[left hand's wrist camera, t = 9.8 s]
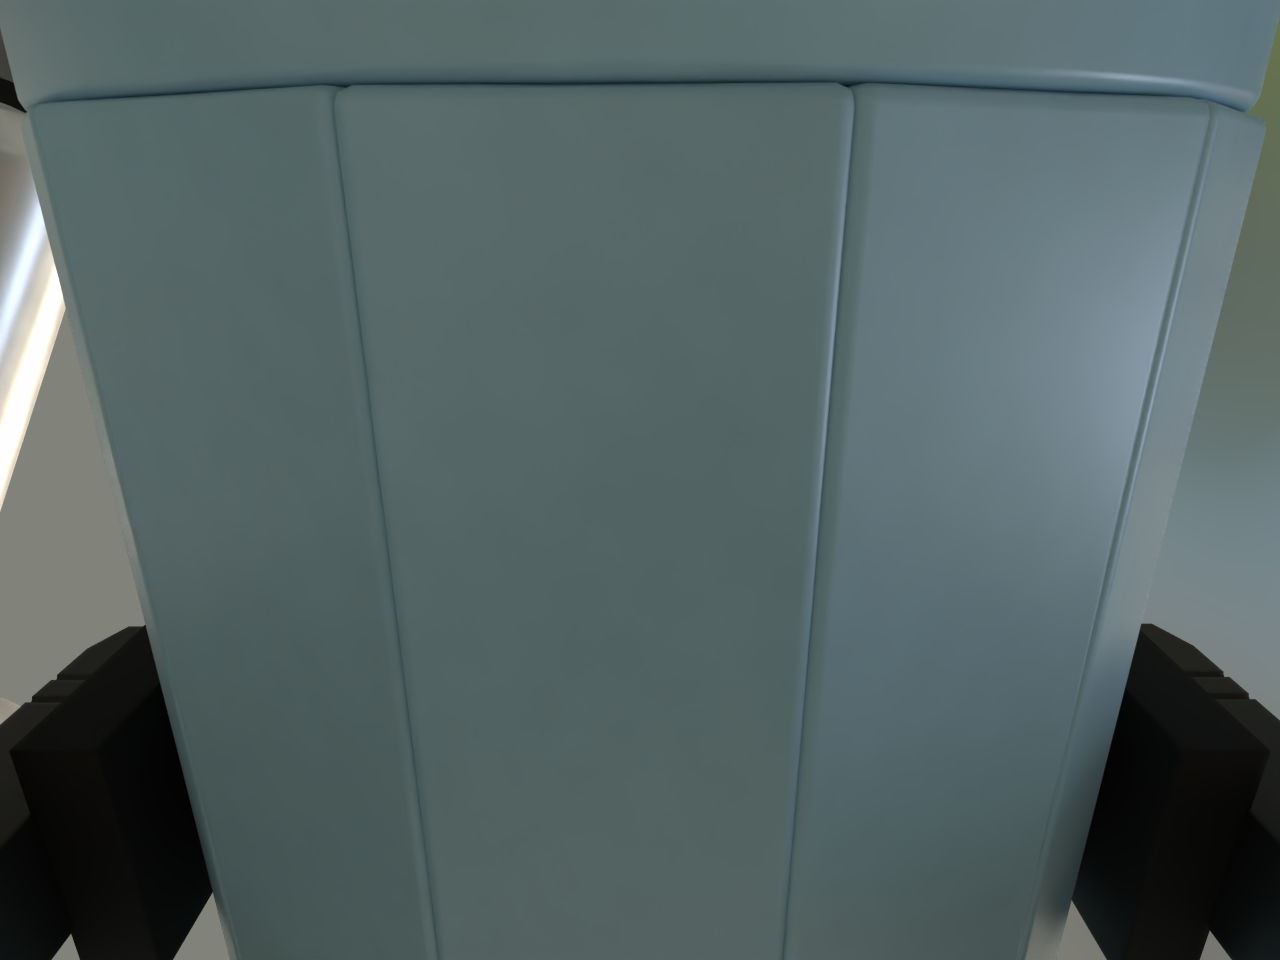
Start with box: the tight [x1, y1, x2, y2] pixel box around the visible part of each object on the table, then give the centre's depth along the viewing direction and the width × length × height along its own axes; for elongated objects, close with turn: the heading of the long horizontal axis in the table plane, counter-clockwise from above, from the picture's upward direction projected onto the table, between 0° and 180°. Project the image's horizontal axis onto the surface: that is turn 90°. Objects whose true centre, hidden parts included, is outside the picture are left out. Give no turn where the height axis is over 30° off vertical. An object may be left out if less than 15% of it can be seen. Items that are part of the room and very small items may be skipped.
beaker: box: [0, 0, 1280, 960], centre depth 9 cm, size 9×9×12 cm
